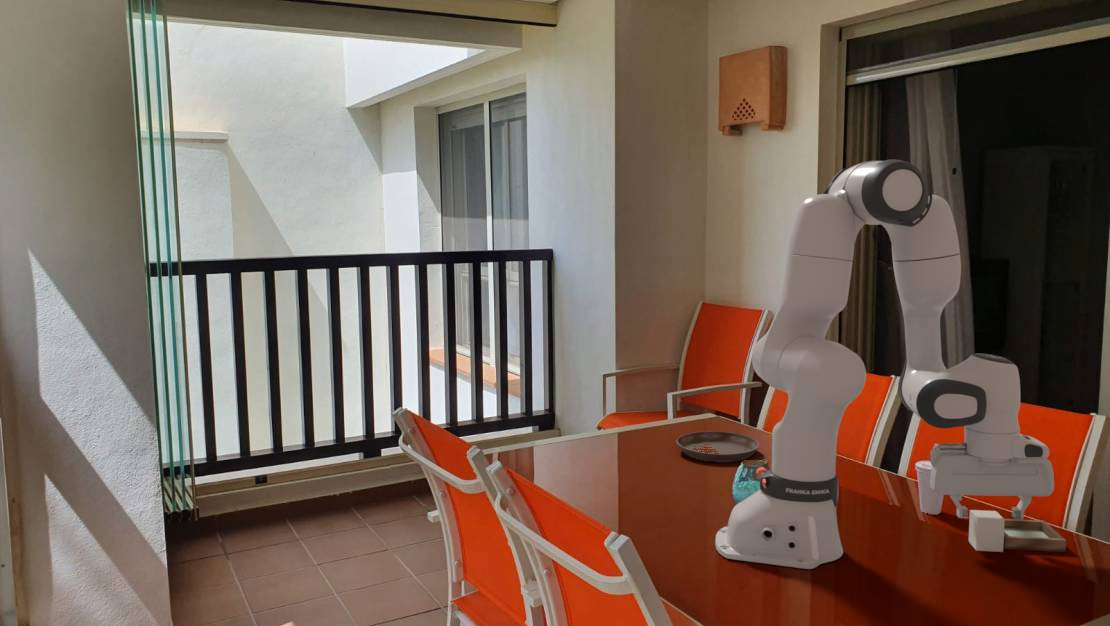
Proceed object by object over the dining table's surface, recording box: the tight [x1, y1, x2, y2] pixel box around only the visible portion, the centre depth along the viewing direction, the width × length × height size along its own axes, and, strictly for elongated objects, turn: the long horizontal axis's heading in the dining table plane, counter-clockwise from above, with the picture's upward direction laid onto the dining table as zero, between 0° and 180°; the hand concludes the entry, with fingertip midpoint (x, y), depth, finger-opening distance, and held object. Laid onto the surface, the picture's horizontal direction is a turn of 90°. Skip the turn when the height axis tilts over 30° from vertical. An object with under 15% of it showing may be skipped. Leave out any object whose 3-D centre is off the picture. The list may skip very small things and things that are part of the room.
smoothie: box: [914, 443, 945, 515], centre depth 173 cm, size 6×6×14 cm
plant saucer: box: [676, 430, 760, 463], centre depth 218 cm, size 21×21×3 cm
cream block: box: [968, 509, 1005, 553], centre depth 155 cm, size 4×4×6 cm
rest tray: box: [1003, 518, 1067, 553], centre depth 157 cm, size 10×10×2 cm
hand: (989, 517), depth 155 cm, fingers open, 8 cm apart
